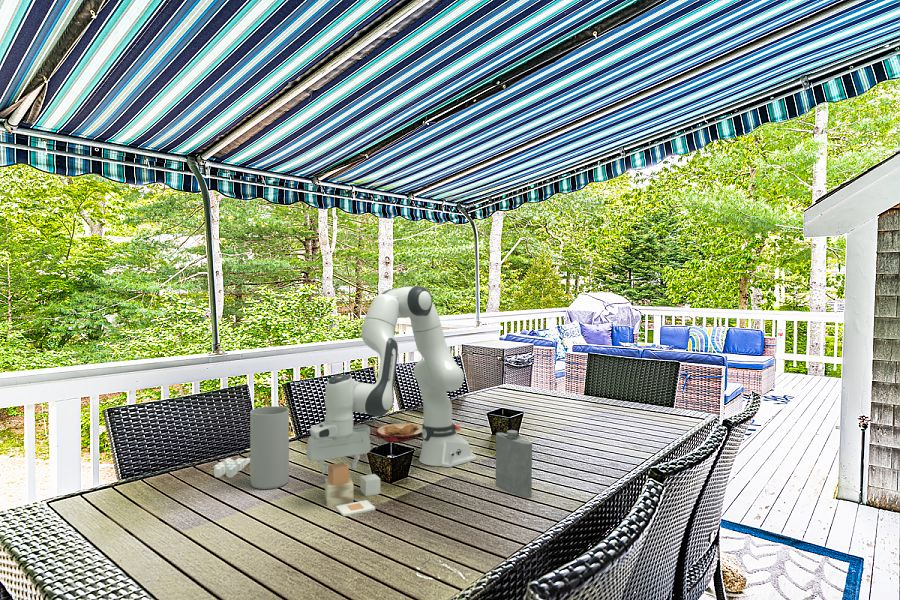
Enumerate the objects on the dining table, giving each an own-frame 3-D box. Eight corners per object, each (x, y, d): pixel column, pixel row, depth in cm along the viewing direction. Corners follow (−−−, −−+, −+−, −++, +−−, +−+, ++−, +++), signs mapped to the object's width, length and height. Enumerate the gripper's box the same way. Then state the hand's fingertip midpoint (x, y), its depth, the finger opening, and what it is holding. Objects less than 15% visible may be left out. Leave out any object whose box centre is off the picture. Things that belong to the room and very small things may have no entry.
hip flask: (533, 496, 180) (534, 435, 179) (524, 499, 177) (525, 437, 177) (500, 482, 192) (501, 424, 192) (491, 484, 190) (492, 426, 189)
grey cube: (374, 488, 185) (374, 473, 185) (380, 493, 181) (380, 478, 181) (360, 491, 183) (360, 476, 183) (365, 496, 179) (365, 481, 178)
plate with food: (440, 435, 254) (440, 427, 254) (392, 444, 237) (392, 436, 237) (408, 425, 273) (408, 418, 273) (361, 433, 255) (361, 425, 255)
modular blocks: (232, 478, 195) (232, 467, 194) (212, 478, 195) (212, 466, 195) (253, 460, 214) (253, 450, 214) (235, 460, 214) (235, 450, 214)
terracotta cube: (343, 477, 179) (343, 462, 179) (348, 482, 175) (348, 466, 174) (328, 480, 176) (328, 464, 176) (333, 485, 172) (333, 469, 172)
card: (366, 501, 174) (366, 499, 174) (375, 509, 168) (375, 507, 168) (335, 508, 169) (335, 505, 169) (343, 516, 163) (343, 514, 163)
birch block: (350, 494, 181) (350, 475, 181) (353, 503, 173) (353, 484, 173) (325, 496, 178) (325, 478, 178) (327, 506, 171) (327, 487, 171)
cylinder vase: (253, 492, 181) (253, 416, 180) (248, 480, 192) (247, 408, 191) (292, 486, 187) (292, 412, 186) (285, 474, 198) (285, 405, 197)
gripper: (366, 421, 183) (366, 462, 183) (304, 428, 173) (304, 472, 173) (373, 425, 177) (373, 468, 178) (310, 433, 167) (310, 479, 168)
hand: (339, 470), depth 175 cm, fingers open, 8 cm apart
